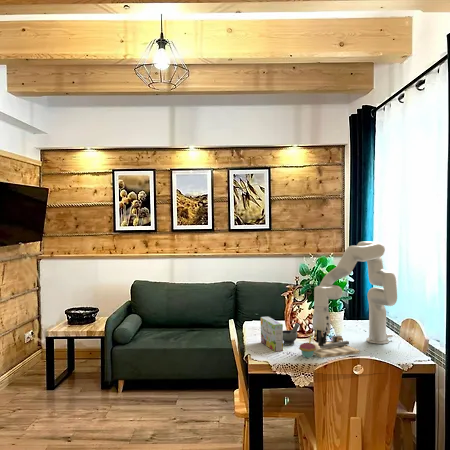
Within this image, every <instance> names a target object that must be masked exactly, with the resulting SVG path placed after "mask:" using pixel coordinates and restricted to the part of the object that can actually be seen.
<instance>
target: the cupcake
mask: <svg viewBox="0 0 450 450" xmlns="http://www.w3.org/2000/svg"><path fill="white" fill-rule="evenodd" d="M311 341H312V334H310V336H309V340H308V341H307V342H303V343H301V344H299V348H298V349H299V350H300V351H301V353H302V356H303V357H304V358H312V357H313V355H314V354H313V352H314V351H315V350H316V347H315V345H313V344H312V343H311Z"/></svg>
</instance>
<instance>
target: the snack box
mask: <svg viewBox="0 0 450 450" xmlns="http://www.w3.org/2000/svg"><path fill="white" fill-rule="evenodd" d="M283 327H284V324H283V323H281V322H279V321H278V320H275V319H274V318H272V317H271V316H260V342H261V343H262V344H263V345H265V346H266V347H268V348H269V349H271V351H273V352H275V353H276V352H283V351H284V344H283V342H284V341H283V331H284V330H283Z"/></svg>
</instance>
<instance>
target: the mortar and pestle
mask: <svg viewBox="0 0 450 450" xmlns="http://www.w3.org/2000/svg"><path fill="white" fill-rule="evenodd" d="M300 326H301V325H300V324H299V323H297V322H296V323H295V324H294V326H293V328H292V329H288V330H287V329H285V330H283V346H295V341H296V340H297V338H298V329H299V327H300Z"/></svg>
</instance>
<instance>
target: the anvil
mask: <svg viewBox="0 0 450 450" xmlns="http://www.w3.org/2000/svg"><path fill="white" fill-rule="evenodd" d="M331 337H332V340H331V341H332V342H334V343H335V342H337V338H338V337H342V338H343V336H342V335H340V334H339V335H333V336H331Z"/></svg>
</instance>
